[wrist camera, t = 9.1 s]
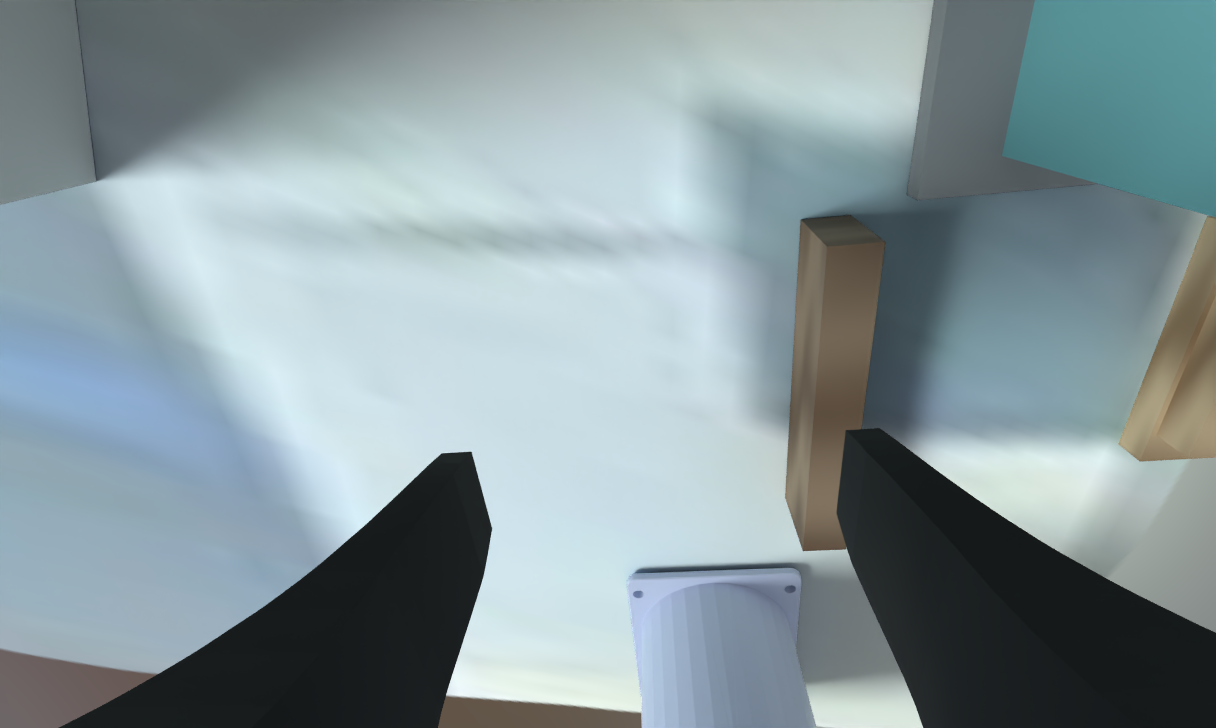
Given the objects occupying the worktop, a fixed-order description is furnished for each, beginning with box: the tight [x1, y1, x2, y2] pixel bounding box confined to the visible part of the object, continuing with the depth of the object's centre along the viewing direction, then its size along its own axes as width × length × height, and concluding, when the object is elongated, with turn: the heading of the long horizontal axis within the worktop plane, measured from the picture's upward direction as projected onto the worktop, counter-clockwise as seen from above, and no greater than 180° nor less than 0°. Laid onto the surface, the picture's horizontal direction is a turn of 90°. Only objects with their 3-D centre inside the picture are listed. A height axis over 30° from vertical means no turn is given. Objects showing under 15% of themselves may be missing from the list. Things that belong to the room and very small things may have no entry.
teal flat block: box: [1002, 0, 1216, 217], centre depth 12 cm, size 7×2×8 cm, turn 6°
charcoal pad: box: [907, 0, 1098, 200], centre depth 16 cm, size 9×7×1 cm
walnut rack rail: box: [785, 215, 885, 551], centre depth 20 cm, size 12×2×3 cm, turn 6°
